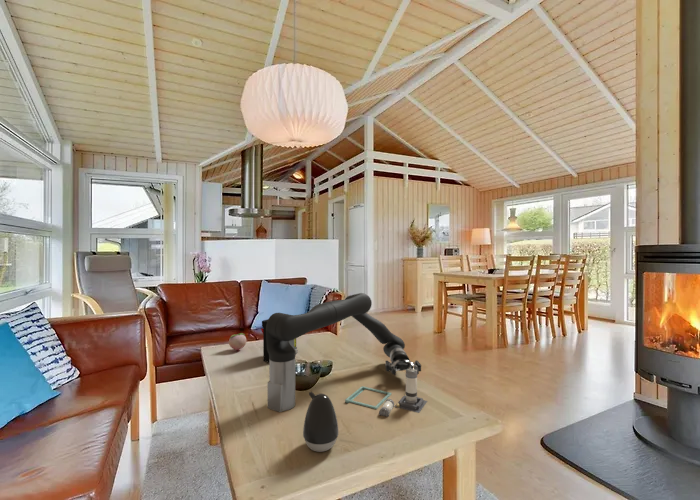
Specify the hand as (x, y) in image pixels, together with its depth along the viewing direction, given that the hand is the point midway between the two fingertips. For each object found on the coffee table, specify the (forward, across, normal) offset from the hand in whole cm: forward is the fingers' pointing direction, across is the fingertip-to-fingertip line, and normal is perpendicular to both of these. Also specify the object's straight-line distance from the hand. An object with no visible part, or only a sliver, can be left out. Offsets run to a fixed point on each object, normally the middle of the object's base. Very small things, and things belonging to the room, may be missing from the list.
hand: (405, 372), depth 135 cm
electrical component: (-42, -57, +8) cm, 71 cm away
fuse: (+16, -9, +8) cm, 20 cm away
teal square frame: (+6, -15, +8) cm, 18 cm away
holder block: (+11, 0, +8) cm, 14 cm away
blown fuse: (+11, 0, +7) cm, 13 cm away
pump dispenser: (+35, -31, +8) cm, 47 cm away
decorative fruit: (-53, -82, +8) cm, 98 cm away
